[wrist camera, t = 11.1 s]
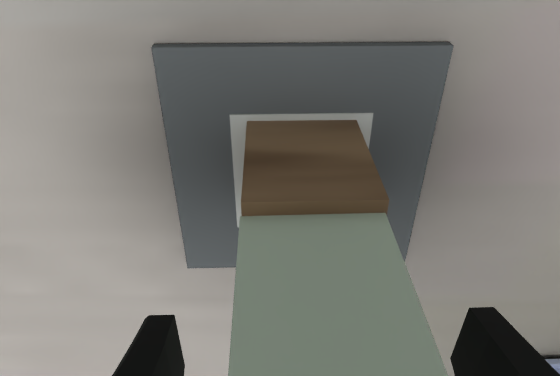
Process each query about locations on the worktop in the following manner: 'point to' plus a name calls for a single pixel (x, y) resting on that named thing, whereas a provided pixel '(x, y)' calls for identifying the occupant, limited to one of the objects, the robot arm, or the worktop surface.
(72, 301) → the worktop surface
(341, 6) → the worktop surface
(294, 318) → the block sage
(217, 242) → the pad
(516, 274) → the worktop surface
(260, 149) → the block walnut
